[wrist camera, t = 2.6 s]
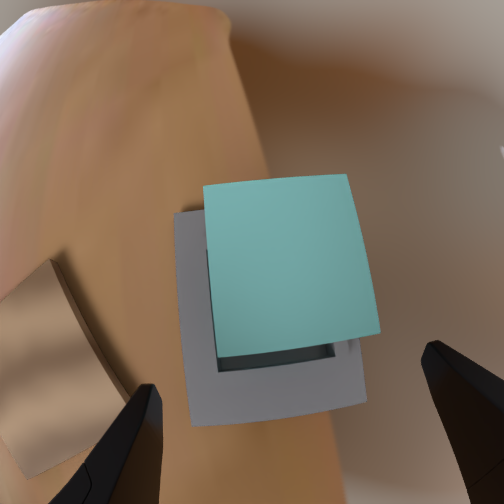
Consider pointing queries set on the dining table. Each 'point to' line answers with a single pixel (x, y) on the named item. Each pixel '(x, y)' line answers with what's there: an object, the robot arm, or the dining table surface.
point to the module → (287, 264)
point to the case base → (251, 355)
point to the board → (51, 375)
